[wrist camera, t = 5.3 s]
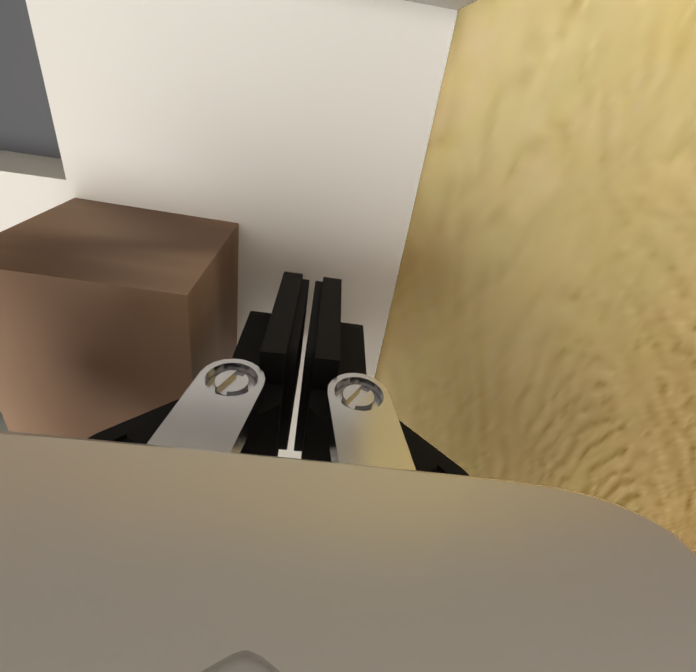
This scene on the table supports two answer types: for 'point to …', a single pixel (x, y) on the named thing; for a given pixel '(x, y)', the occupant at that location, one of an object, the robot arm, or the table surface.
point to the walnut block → (110, 313)
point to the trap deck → (234, 129)
